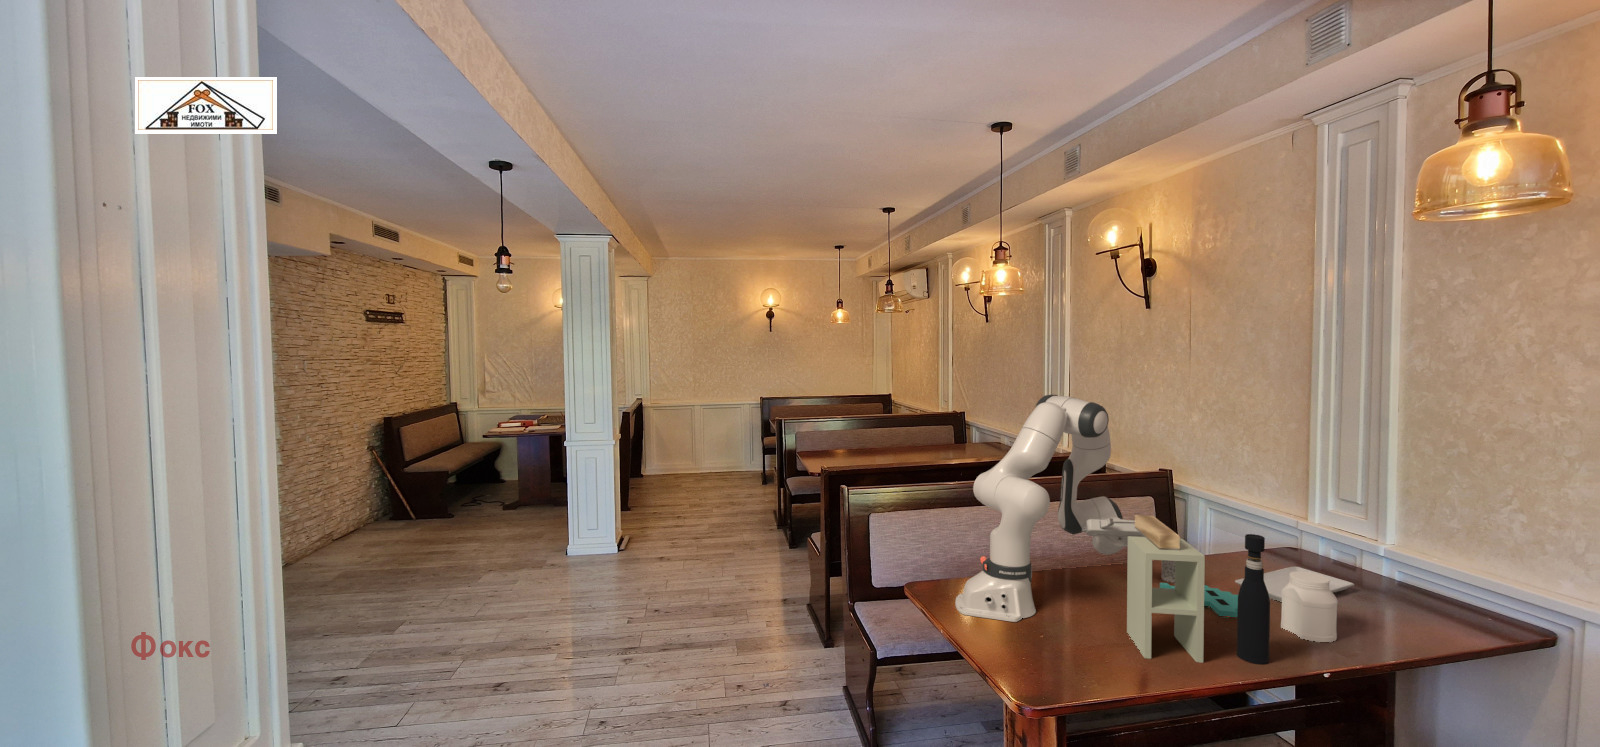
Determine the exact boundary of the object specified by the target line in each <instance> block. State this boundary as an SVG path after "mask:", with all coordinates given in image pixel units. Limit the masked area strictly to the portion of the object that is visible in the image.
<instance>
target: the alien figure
mask: <svg viewBox="0 0 1600 747" xmlns="http://www.w3.org/2000/svg"><path fill="white" fill-rule="evenodd" d="M1159 588H1168V589H1175V585H1170V584H1169V582H1159ZM1204 606H1210V607H1211V608H1212V609H1213V610H1214V611H1215V612H1216V613H1217V614H1218V615H1219V616H1230V617H1237V611H1238V594H1233V593H1232V592H1230V591H1225V590H1224V591H1223V590H1220V588H1217V587H1216V588H1214V587H1210V586H1208V585H1206V584H1204ZM1210 607H1209V608H1210ZM1211 608H1210V609H1211ZM1212 609H1211V610H1212ZM1213 610H1212V611H1213ZM1214 611H1213V612H1214ZM1215 612H1214V613H1215ZM1216 613H1215V614H1216ZM1217 614H1216V615H1217ZM1218 615H1217V616H1218ZM1219 616H1218V617H1219Z"/></svg>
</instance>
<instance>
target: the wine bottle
mask: <svg viewBox="0 0 1600 747" xmlns="http://www.w3.org/2000/svg"><path fill="white" fill-rule="evenodd" d="M1265 540H1266V538H1265V537H1264V536H1263V535H1260V534H1255V533H1254V534H1253V533H1249V534H1247V533H1246V534H1245V536H1244V549H1245V550H1247V557H1248V558H1246V561H1245V562H1246V565H1245V566H1244V580H1243V582H1242V584H1241V586H1240V587H1239V591H1238V594H1237V595H1238V611H1237V618H1236V619H1237V623H1236V625H1237V626H1236V627H1237V628H1236V630H1237V631H1236V656H1237V657H1238V658H1239V659H1240V660H1243V661H1245V662H1247V663H1250V664H1255V665H1267V664H1269V662H1270V634H1271V632H1270V630H1271V629H1270V628H1271V624H1270V622H1271V620H1270V619H1271V601H1270V600H1271V599H1269V594H1268V591H1267V588H1266V585H1265V583H1264V573H1265V569H1264V568H1263V567H1264V566H1263V563H1264V562H1263V560H1261V559H1262V553H1263V552H1265V544H1266V541H1265Z"/></svg>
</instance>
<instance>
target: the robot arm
mask: <svg viewBox="0 0 1600 747" xmlns="http://www.w3.org/2000/svg"><path fill="white" fill-rule="evenodd" d="M1108 425H1109V414H1108V412H1107V410H1106V408H1105V407H1104V406H1103V405H1102V404H1099V403H1097V402H1094V401H1093V402H1090V401H1087V400H1085V399H1084V400H1083V399H1080V398H1076V397H1073V396H1067V395H1066V396H1064V395H1058V394H1046V395H1043V396H1042V397H1041V398H1039V399H1038V401H1037V402H1036V405H1035V406H1034V409H1033V411H1032V412H1031V413H1030V414H1029V416H1027V419H1026V420H1025V422H1024V424H1023V425H1022V427H1021V429H1020V430H1019V433H1018V435H1017V436H1016V439H1015V440H1014V441H1013V444H1012V445H1011V448H1010V449H1009V450H1008V452H1007V453H1006V454H1005V456H1003V457H1002V459H1000V461H999V462H997V463H996V464H995V465H994V466H992V467H991V468H990V469H988V470H987V471H985V472H981V473H980V474H979V475H978V476H976V479H975V480H974V483H973V486H972V490H973V494H974V495H973V496H974V497H975V498H976V500H978V502H980V503H981V504H982V505H983V506H986V507H987V508H990V509H992V510H995V511H998V512H1000V513H1001V519H1000V523H999V526H996V527H995V528H994V529H992V530H991V532H990V534H989V557H988V558H987V557H986V556H984V555H983V556H981V557H980V563H981V565H982V570H981V571H980V572H978V573H977V574H975V575H974V576H972V577H970V578H969V579H967V581H965V584H964V587H963V590H962V591H963V592H962V593H959V594H958V595H956V597H955V604H954V605H955V608H956V610H957V611H958V612H959V613H960V614H962V615H964V616H971V617H978V618H983V619H993V620H999V621H1006V622H1013V623H1017V622H1019V621H1022V618H1023V619H1026V618H1030V617H1032V616H1034V615H1035V614H1036V613H1037V610H1036V606H1035V602H1034V599H1033V593H1032V586H1031V584H1032V579H1033V578H1032V577H1033V567H1032V563H1031V538H1032V537H1031V536H1032V532H1033V530H1034V527H1035V526H1036V524H1037V523H1038V522H1039V520H1040V519H1043V518H1044V517H1045V516H1046V514H1047V513H1048V511H1049V509H1050V505H1051V499H1050V495H1049V493H1048V491H1047V490H1046V488H1044V487H1043V486H1041V485H1040V484H1038V483H1036V482H1034V481H1032V480H1029V479H1030V478H1031V477H1032V476H1034V475H1036V474H1038V473H1041V472H1043V471H1044V470H1046V469H1047V467H1048V466H1049V463H1050V462H1051V460H1052V458H1053V456H1054V454H1055V452H1056V450H1057V448H1058V446H1059V444H1060V441H1061V440H1062V436H1063V434H1068V435H1071V443H1072V447H1071V452H1070V455H1069V457H1068V458H1067V459H1066V460H1065V461H1064V462H1063V466H1062V471H1061V472H1062V473H1061V483H1060V484H1061V485H1060V495H1059V496H1060V497H1059V498H1060V499H1059V505H1058V511H1057V519H1058V523H1059V525H1060V528H1061V529H1062V530H1063V531H1065V532H1066V533H1069V534H1071V535H1073V536H1074V535H1078V534H1081V533H1085V534H1086V535H1087V536H1090V537H1092V539H1091V543H1092V546H1093V548H1094V549H1095V551H1097V552H1098V553H1099V554H1101V555H1105V556H1111V555H1115V554H1116V553H1118V552H1120V551H1121V550H1122V549H1123V548H1128V536H1133V537H1145V536H1143V535H1142V534H1141V533H1140V532H1139V531H1138V530H1137V529H1136V528H1135V519H1134V520H1131V519H1129V520H1127V519H1124V518H1123V514H1122V512H1121V509H1120V506H1118V504H1117V503H1116V502H1115V501H1114V500H1113V499H1111V498H1110V497H1108V496H1105V495H1103V496H1098V497H1093V498H1092V497H1091V498H1089V499H1085V500H1079V501H1077V497H1078V487H1079V484H1080V482H1081V481H1082V480H1083V479H1085V478H1086V477H1088V476H1089V475H1091V474H1093V473H1094V472H1096V471H1098V470H1100V469H1101V468H1103V467H1104V466H1105V465H1106V464H1107V463H1108V462H1109V461H1110V459H1111V454H1112V445H1111V435H1110V430H1109V426H1108Z"/></svg>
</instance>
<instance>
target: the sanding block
mask: <svg viewBox="0 0 1600 747" xmlns="http://www.w3.org/2000/svg"><path fill="white" fill-rule="evenodd" d="M1134 520H1135V528H1136V529H1137V530H1138V531H1139V532H1140V533H1141V534H1142V535H1143V536H1145V537H1146V538H1147V539H1148V540H1149V541H1150V542H1151V543H1153V544H1154V545H1155V546H1156V547H1157V548H1158V549H1159V550H1180V538H1181V537H1180V535H1179V534H1177V533H1176V532H1175V531H1174V530H1172V529H1171V528H1170V527H1169V526H1167V525H1166V524H1165V523H1163V522H1162V521H1160V519H1158V518H1157V517H1156V516H1154V515H1147V514H1145V515H1144V514H1135V515H1134Z"/></svg>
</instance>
